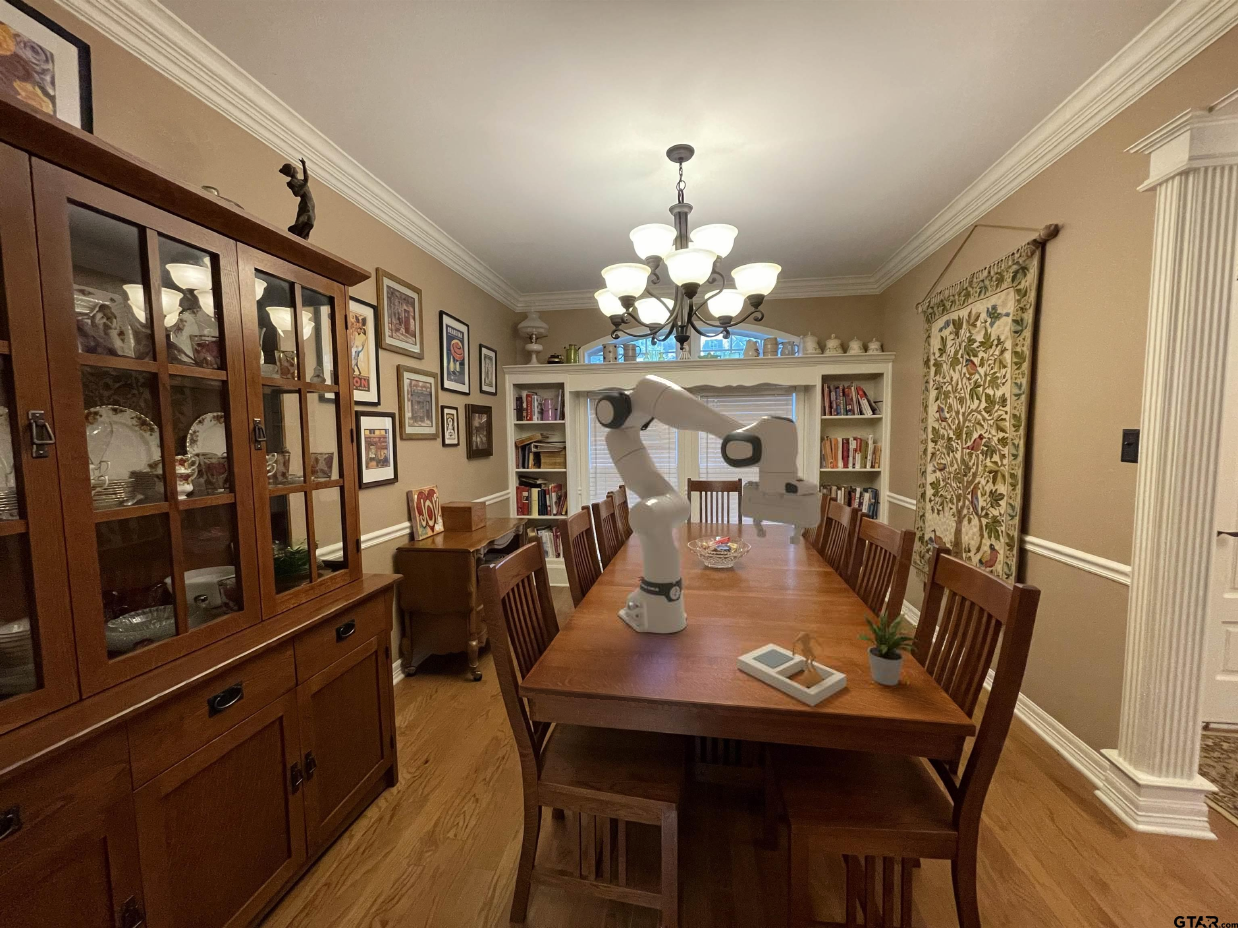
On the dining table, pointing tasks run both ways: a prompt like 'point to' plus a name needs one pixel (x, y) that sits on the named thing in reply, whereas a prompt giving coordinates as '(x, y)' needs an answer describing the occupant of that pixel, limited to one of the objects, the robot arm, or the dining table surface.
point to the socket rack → (790, 673)
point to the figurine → (810, 675)
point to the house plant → (886, 649)
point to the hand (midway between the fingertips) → (777, 540)
